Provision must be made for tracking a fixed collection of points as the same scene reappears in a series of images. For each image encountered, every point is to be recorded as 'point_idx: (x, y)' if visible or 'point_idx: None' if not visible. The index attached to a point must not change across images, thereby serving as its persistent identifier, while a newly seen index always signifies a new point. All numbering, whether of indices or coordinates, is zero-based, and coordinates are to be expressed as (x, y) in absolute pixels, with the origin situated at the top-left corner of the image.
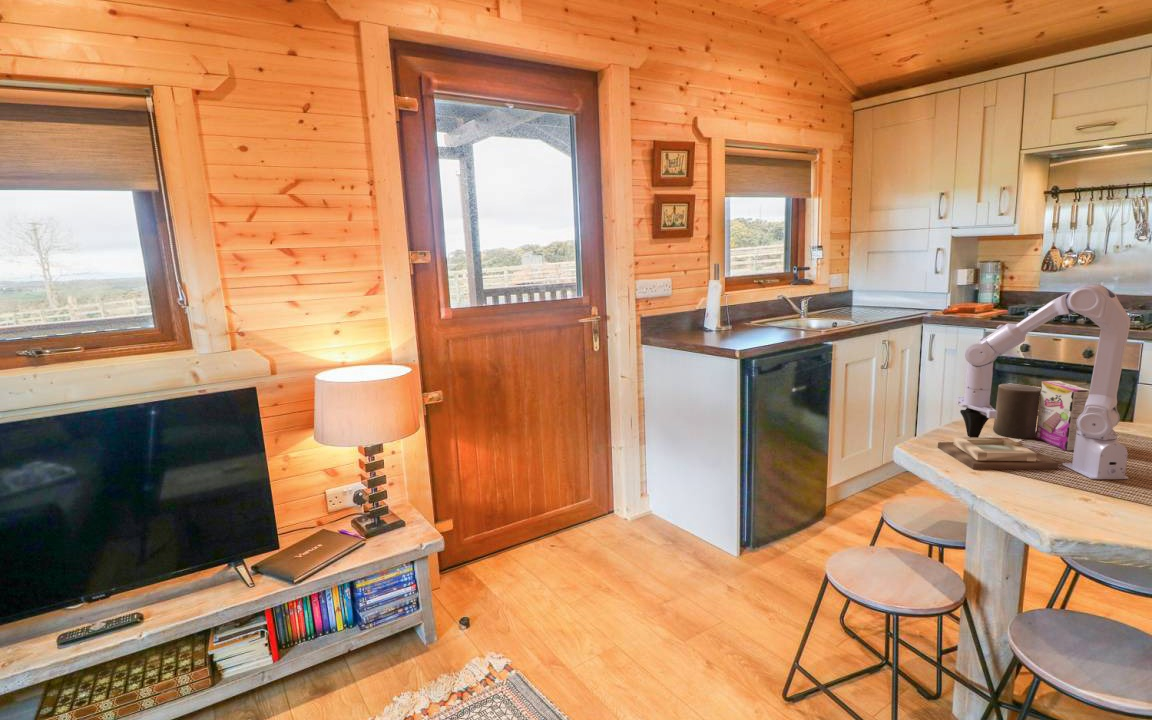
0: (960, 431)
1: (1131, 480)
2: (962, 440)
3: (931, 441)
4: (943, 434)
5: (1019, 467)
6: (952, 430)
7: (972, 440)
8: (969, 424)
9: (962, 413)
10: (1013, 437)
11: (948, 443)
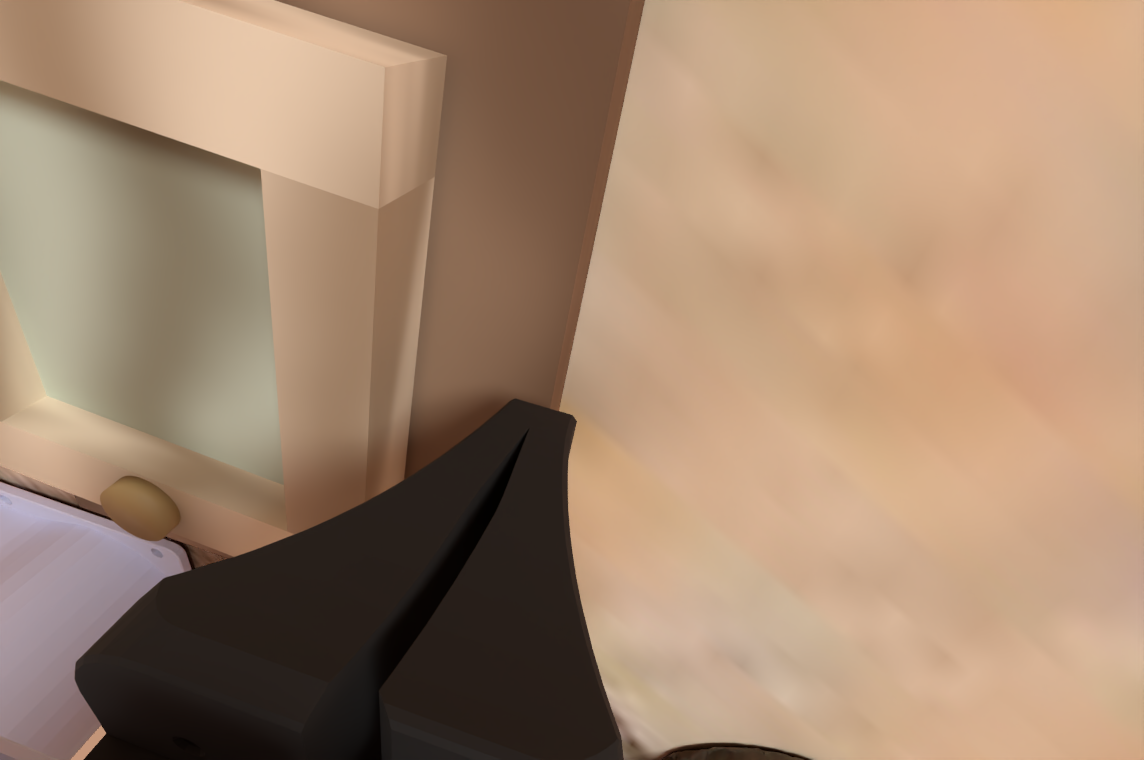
0: (1038, 657)
1: None
2: (210, 73)
3: (964, 63)
4: (1091, 464)
5: None
6: (1122, 635)
7: (272, 253)
8: (416, 502)
9: (510, 697)
10: (686, 751)
11: (551, 55)
